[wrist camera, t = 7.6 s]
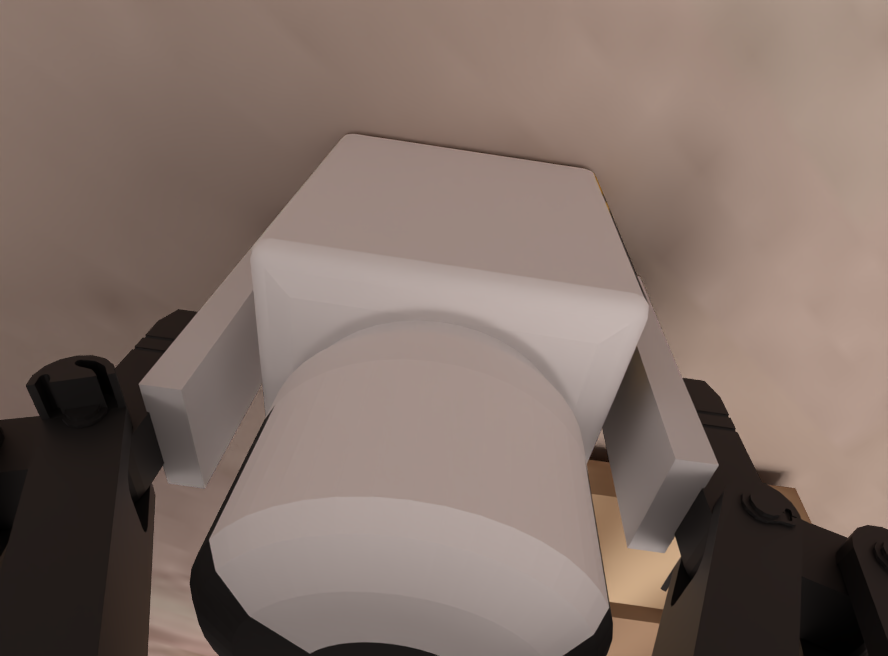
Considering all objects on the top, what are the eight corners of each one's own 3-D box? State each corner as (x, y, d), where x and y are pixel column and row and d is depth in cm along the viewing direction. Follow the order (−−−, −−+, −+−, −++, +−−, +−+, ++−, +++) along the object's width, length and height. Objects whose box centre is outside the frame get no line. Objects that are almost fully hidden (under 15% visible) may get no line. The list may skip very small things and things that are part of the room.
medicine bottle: (539, 364, 19) (581, 804, 9) (339, 334, 19) (170, 743, 9) (598, 166, 15) (784, 586, 5) (342, 127, 15) (40, 475, 5)
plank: (373, 536, 26) (367, 567, 25) (377, 429, 21) (369, 462, 19) (707, 583, 26) (716, 616, 24) (795, 488, 20) (812, 524, 19)
